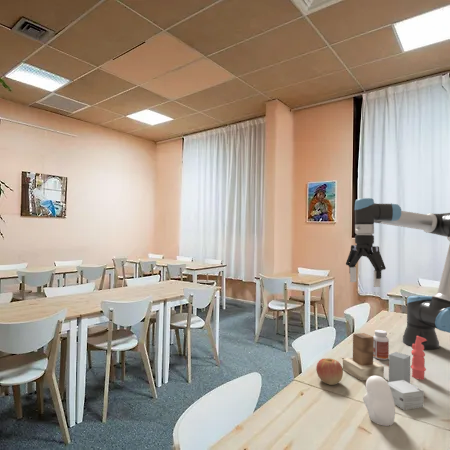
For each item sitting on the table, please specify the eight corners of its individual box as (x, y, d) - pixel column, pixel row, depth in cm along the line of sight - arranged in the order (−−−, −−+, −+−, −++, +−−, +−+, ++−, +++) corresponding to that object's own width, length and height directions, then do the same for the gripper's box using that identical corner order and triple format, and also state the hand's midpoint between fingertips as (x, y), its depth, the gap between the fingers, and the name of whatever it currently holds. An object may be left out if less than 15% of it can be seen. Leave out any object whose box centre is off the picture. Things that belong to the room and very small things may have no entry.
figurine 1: (360, 413, 97) (361, 371, 97) (385, 412, 97) (386, 370, 97) (373, 427, 89) (374, 382, 90) (400, 426, 90) (401, 381, 90)
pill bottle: (391, 358, 140) (392, 332, 141) (383, 361, 137) (383, 334, 137) (377, 354, 146) (378, 328, 146) (369, 356, 142) (369, 330, 143)
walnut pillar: (363, 359, 128) (363, 332, 128) (373, 364, 123) (373, 336, 124) (352, 360, 126) (353, 334, 127) (362, 365, 122) (362, 338, 122)
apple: (329, 390, 110) (329, 365, 111) (310, 379, 118) (311, 356, 118) (348, 385, 114) (348, 361, 115) (329, 375, 122) (329, 353, 122)
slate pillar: (395, 379, 120) (395, 351, 120) (410, 384, 116) (410, 355, 116) (388, 383, 117) (389, 354, 117) (403, 388, 113) (404, 358, 113)
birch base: (363, 366, 131) (364, 356, 131) (383, 377, 122) (383, 366, 122) (342, 369, 128) (342, 358, 128) (361, 380, 118) (361, 369, 118)
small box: (383, 398, 106) (384, 381, 107) (404, 395, 108) (404, 379, 109) (402, 410, 99) (403, 393, 99) (424, 407, 101) (424, 390, 101)
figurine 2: (424, 375, 124) (425, 334, 124) (428, 381, 119) (428, 338, 120) (409, 373, 126) (409, 333, 126) (411, 378, 121) (412, 337, 121)
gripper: (337, 234, 154) (337, 280, 153) (380, 234, 131) (380, 289, 130) (350, 234, 157) (351, 279, 156) (395, 234, 133) (395, 288, 133)
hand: (364, 284), depth 143 cm, fingers open, 13 cm apart
